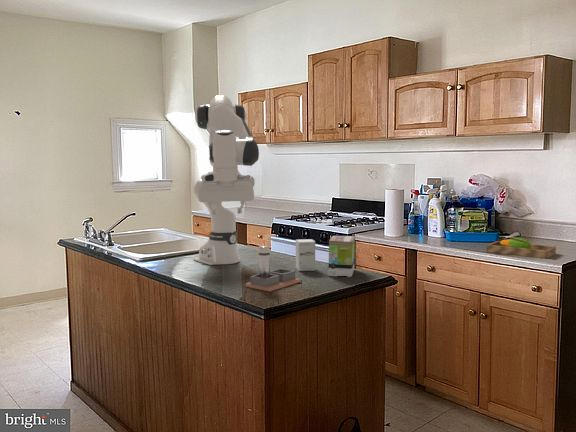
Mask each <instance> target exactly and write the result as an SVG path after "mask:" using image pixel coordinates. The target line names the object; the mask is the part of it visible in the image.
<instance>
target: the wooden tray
mask: <svg viewBox="0 0 576 432" xmlns="http://www.w3.org/2000/svg"><path fill="white" fill-rule="evenodd" d="M501 241H502V240H501ZM501 241H500V240H496V241H494V242H491V243H489V244H487V245H486V253H493V254H502V255H511V256H520V257H530V258H539V259H549V258H551V257H553V256H554V255H556V254H557V253H556V251H557V246H554V245H544V244H543V245H542V244H533V243H532V244H531V243H530V244H531V247H532V249H525V248H515V247H505V246H502V245H501V244H500V242H501Z"/></svg>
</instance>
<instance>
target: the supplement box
mask: <svg viewBox="0 0 576 432" xmlns="http://www.w3.org/2000/svg"><path fill="white" fill-rule="evenodd" d="M295 269H297V271H298V272H305V271H306V272H307V271H309V272H310V271H311V272H312V271H313V272H314V271H316V241H315V240H314V239H312V238H311V239H309V238H308V239H306V238H305V239H295Z"/></svg>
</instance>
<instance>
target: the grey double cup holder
mask: <svg viewBox="0 0 576 432" xmlns="http://www.w3.org/2000/svg"><path fill="white" fill-rule="evenodd" d="M296 277H297V276H296V270H293V269H287V268H281V267H279V268H277V269H272V270H270V277H269V278H260V277H259V273H257V274H254V275H251V276H250V277H249V279H250V281H249V282H246V283H245V287H246V288H251V289H255V290H261V291H266V292H273V291H276V290H279V289H283V288H285V287H289V286H292V285H295V284H299V283H301V278H296Z"/></svg>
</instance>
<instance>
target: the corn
mask: <svg viewBox="0 0 576 432" xmlns="http://www.w3.org/2000/svg"><path fill="white" fill-rule="evenodd" d="M508 238H510V239H503V240H501V242H500V244H501V245H502V246H505V247H515V248H525V249H532V247H531V243H530V242H529V240H526V239H524V238H520V237H510V236H509V237H508ZM511 238H512V239H511Z"/></svg>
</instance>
